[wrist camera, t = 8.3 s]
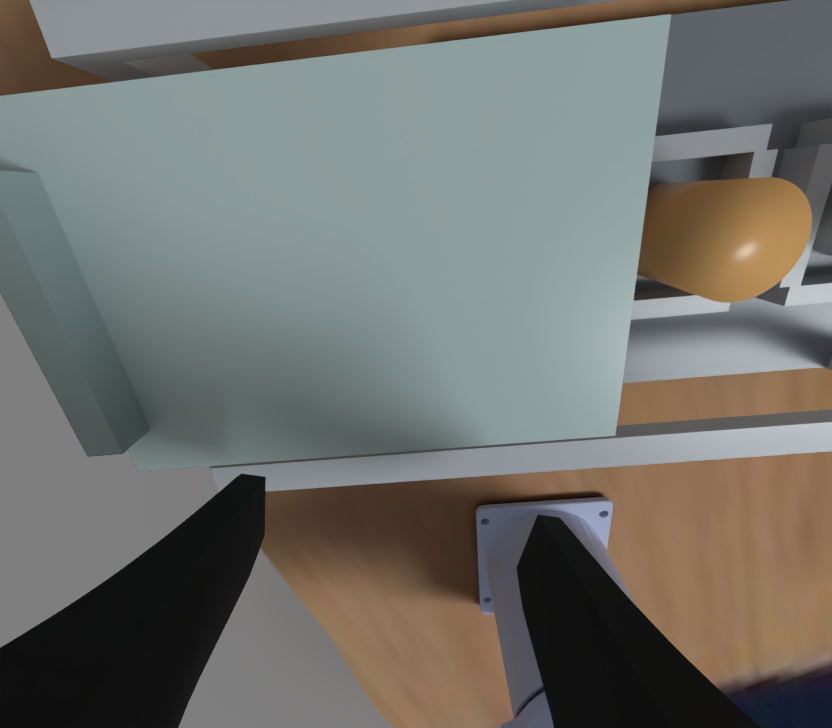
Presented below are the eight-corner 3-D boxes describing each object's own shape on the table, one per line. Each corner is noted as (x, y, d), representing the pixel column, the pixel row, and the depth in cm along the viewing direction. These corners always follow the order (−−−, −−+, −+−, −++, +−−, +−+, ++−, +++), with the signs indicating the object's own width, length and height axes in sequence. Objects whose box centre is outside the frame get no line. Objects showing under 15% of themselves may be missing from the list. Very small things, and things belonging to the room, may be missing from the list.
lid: (603, 421, 12) (635, 460, 10) (153, 456, 13) (109, 498, 11) (649, 29, 8) (714, -18, 6) (-3, 108, 9) (-110, 85, 7)
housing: (870, 353, 19) (1099, 431, 13) (282, 401, 20) (219, 494, 14) (1022, -20, 13) (1571, -217, 7) (196, 80, 15) (25, -10, 8)
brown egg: (685, 270, 16) (789, 299, 12) (602, 276, 16) (673, 306, 12) (704, 180, 15) (830, 172, 10) (613, 186, 15) (699, 182, 10)
